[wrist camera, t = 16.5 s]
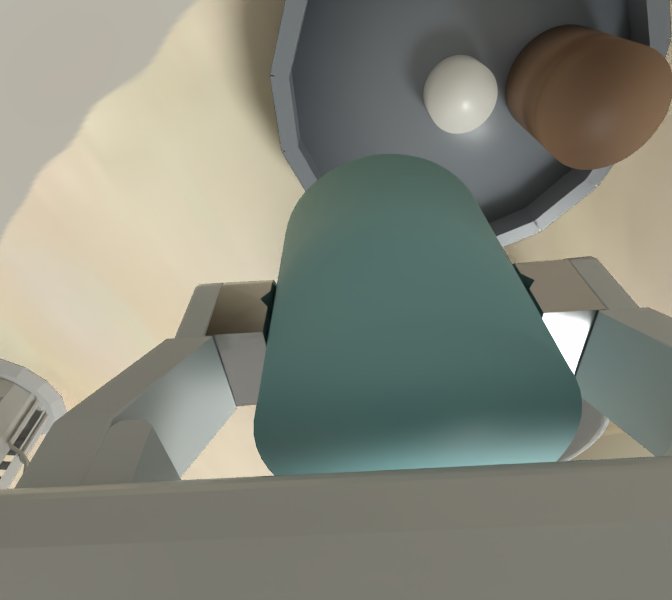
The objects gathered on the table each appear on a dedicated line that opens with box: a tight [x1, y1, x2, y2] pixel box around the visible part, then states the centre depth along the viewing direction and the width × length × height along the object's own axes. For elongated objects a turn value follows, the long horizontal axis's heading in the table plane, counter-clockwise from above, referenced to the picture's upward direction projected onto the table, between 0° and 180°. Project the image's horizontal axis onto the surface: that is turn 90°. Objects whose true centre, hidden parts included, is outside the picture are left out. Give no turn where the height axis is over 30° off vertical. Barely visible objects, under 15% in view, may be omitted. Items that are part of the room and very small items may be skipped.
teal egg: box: [254, 154, 582, 476], centre depth 8 cm, size 4×4×5 cm
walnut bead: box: [505, 24, 672, 170], centre depth 19 cm, size 4×4×5 cm
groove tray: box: [270, 0, 671, 247], centre depth 21 cm, size 17×17×2 cm
